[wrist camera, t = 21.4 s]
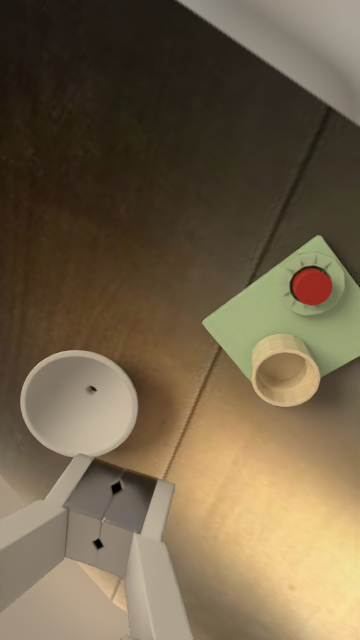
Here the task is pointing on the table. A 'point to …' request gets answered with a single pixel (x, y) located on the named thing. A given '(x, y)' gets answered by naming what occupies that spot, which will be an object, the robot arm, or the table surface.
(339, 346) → the green base plate
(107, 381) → the dish
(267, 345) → the beige cup
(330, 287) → the button
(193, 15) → the table surface
